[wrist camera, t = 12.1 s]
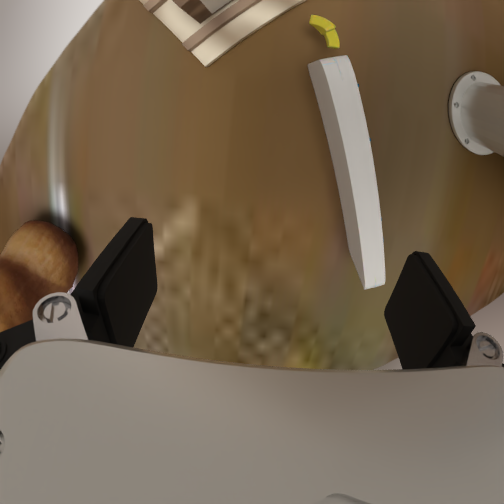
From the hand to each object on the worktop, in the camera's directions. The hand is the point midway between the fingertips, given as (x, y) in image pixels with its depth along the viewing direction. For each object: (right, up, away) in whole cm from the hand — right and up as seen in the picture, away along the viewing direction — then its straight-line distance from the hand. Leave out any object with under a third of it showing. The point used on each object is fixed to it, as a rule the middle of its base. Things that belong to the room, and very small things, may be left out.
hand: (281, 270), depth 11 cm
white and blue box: (+10, +14, +25) cm, 31 cm away
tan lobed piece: (-35, +2, +35) cm, 49 cm away
